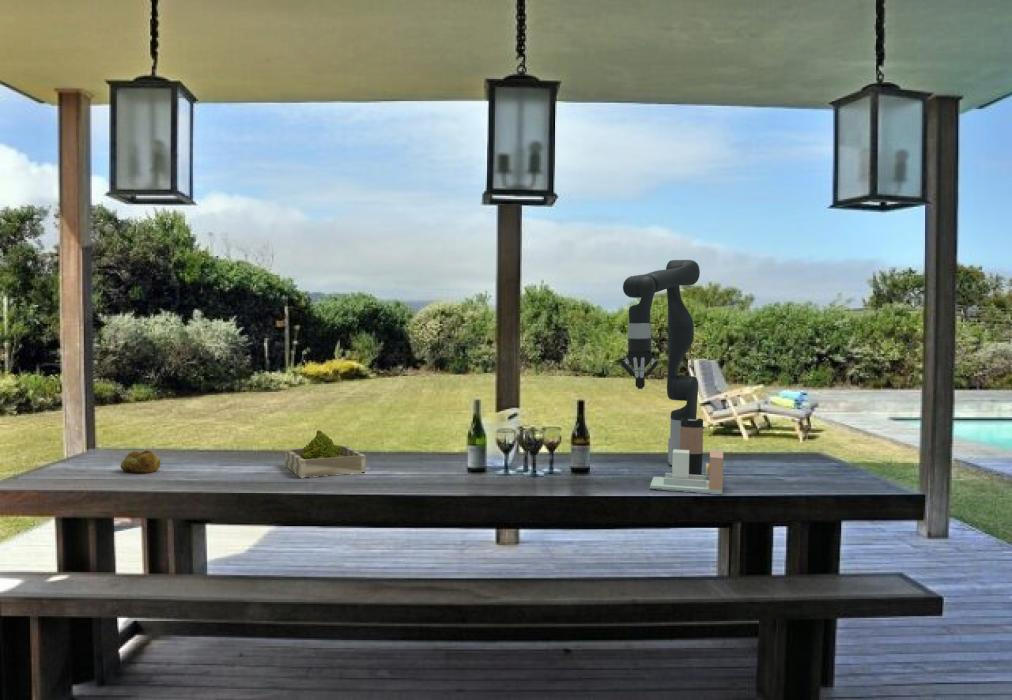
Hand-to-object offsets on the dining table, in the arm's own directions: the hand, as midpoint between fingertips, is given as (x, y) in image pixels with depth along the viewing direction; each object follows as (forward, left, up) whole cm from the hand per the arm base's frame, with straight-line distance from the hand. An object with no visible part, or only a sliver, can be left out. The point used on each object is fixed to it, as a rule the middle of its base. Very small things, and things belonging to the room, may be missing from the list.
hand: (640, 388), depth 262 cm
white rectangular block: (+15, +6, -29) cm, 33 cm away
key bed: (+16, +7, -31) cm, 35 cm away
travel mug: (+4, +19, -31) cm, 37 cm away
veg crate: (-60, -90, -31) cm, 112 cm away
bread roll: (-83, -146, -31) cm, 171 cm away
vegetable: (-62, -90, -31) cm, 114 cm away
